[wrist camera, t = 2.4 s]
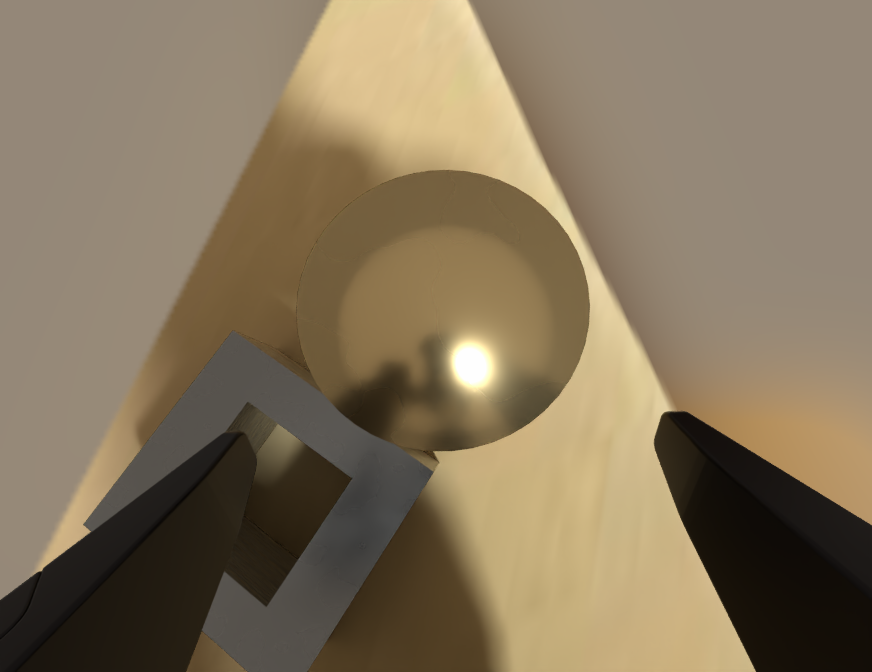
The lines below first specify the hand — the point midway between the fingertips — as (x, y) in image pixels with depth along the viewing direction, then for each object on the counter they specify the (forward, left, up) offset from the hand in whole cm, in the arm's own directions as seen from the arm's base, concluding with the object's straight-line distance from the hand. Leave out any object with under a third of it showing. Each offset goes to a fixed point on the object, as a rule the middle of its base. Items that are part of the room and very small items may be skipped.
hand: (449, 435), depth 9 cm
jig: (-6, +5, -11) cm, 13 cm away
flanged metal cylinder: (+2, +1, -11) cm, 11 cm away
